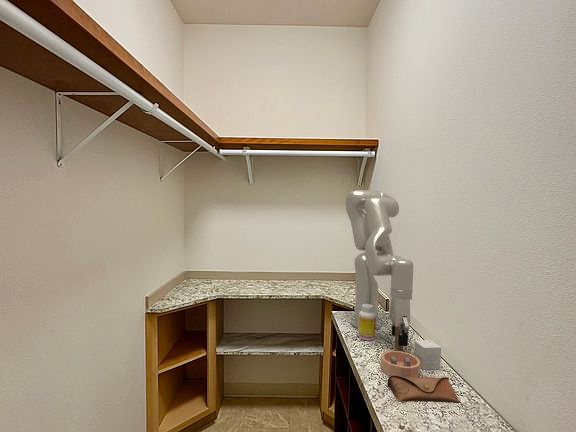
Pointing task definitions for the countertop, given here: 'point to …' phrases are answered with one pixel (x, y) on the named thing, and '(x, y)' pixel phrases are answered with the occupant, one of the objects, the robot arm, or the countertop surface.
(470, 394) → the countertop surface
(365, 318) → the supplement bottle
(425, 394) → the sunglasses case
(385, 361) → the terracotta shallow dish
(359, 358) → the countertop surface
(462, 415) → the countertop surface
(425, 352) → the product box
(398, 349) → the wooden plank
